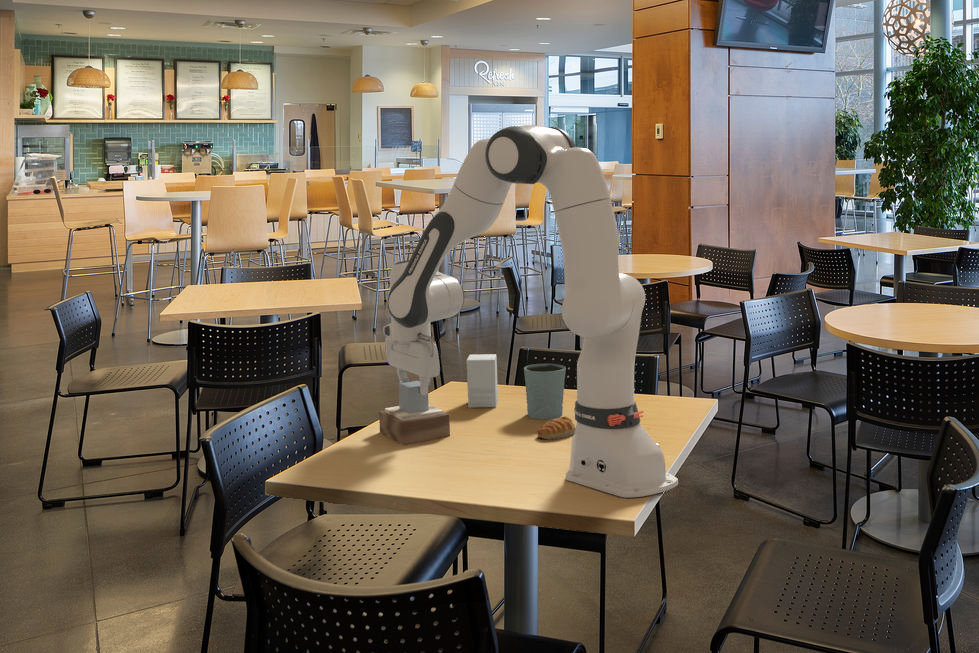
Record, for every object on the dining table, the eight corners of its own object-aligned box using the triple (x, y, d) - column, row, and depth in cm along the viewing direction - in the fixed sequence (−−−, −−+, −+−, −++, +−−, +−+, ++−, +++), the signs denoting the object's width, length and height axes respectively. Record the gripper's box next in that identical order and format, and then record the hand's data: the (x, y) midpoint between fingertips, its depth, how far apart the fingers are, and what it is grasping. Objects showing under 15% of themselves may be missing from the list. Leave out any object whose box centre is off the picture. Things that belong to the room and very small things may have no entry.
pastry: (553, 443, 197) (552, 426, 196) (529, 438, 201) (529, 422, 201) (578, 434, 204) (578, 417, 203) (555, 429, 208) (555, 413, 208)
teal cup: (521, 419, 216) (521, 371, 214) (527, 409, 226) (526, 362, 224) (563, 420, 214) (563, 372, 212) (567, 410, 224) (567, 363, 222)
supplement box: (498, 400, 235) (497, 353, 233) (496, 408, 227) (495, 359, 225) (470, 400, 235) (469, 353, 233) (467, 407, 228) (466, 359, 226)
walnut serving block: (449, 435, 204) (449, 411, 203) (402, 444, 198) (401, 419, 197) (425, 424, 214) (424, 400, 213) (379, 432, 208) (378, 408, 207)
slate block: (428, 410, 204) (427, 384, 203) (409, 413, 201) (408, 387, 200) (418, 405, 208) (417, 380, 207) (399, 409, 206) (398, 383, 205)
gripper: (445, 335, 195) (447, 396, 197) (404, 323, 212) (406, 380, 214) (419, 338, 191) (422, 401, 194) (379, 326, 209) (382, 384, 211)
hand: (413, 390), depth 204 cm, fingers open, 8 cm apart
